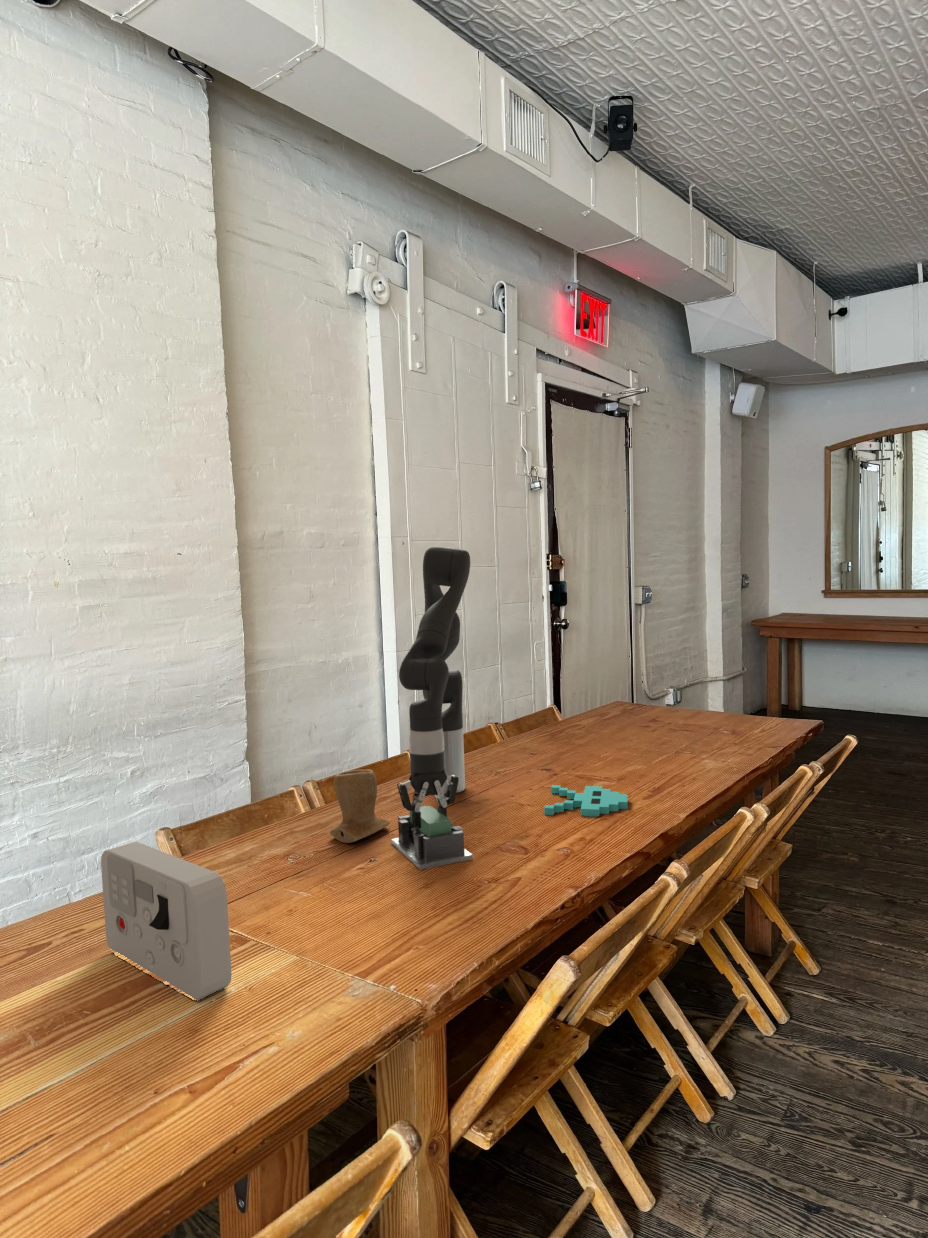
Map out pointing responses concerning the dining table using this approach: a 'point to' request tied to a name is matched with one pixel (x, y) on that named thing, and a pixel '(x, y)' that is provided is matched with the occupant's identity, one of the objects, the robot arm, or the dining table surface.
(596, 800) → the alien figure
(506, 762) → the dining table surface
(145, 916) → the grey button box
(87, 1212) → the dining table surface
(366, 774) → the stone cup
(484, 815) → the dining table surface
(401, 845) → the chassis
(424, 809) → the green block
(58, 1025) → the dining table surface
